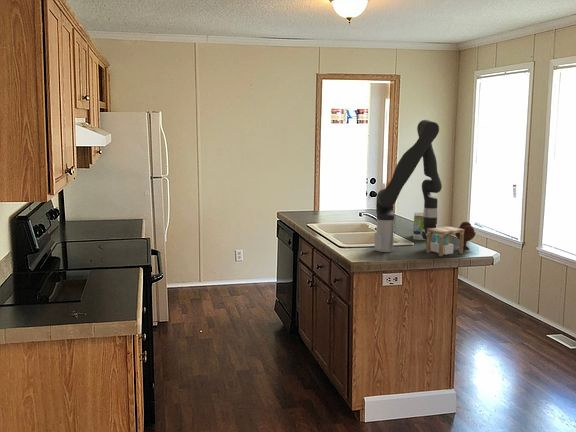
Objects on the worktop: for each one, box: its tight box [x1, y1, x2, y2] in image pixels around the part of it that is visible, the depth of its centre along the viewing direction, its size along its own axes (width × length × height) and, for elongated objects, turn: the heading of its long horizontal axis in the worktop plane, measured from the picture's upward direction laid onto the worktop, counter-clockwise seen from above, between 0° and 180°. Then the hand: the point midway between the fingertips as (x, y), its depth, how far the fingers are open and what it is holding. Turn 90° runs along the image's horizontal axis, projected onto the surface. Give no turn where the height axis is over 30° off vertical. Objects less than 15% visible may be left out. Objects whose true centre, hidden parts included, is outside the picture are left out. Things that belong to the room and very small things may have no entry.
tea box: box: [412, 211, 426, 241], centre depth 367 cm, size 15×10×15 cm, turn 168°
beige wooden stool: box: [425, 225, 464, 257], centre depth 324 cm, size 16×11×13 cm
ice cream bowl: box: [454, 221, 476, 251], centre depth 336 cm, size 11×11×15 cm
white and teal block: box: [430, 234, 454, 255], centre depth 328 cm, size 6×14×9 cm, turn 30°
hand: (428, 247), depth 336 cm, fingers closed
